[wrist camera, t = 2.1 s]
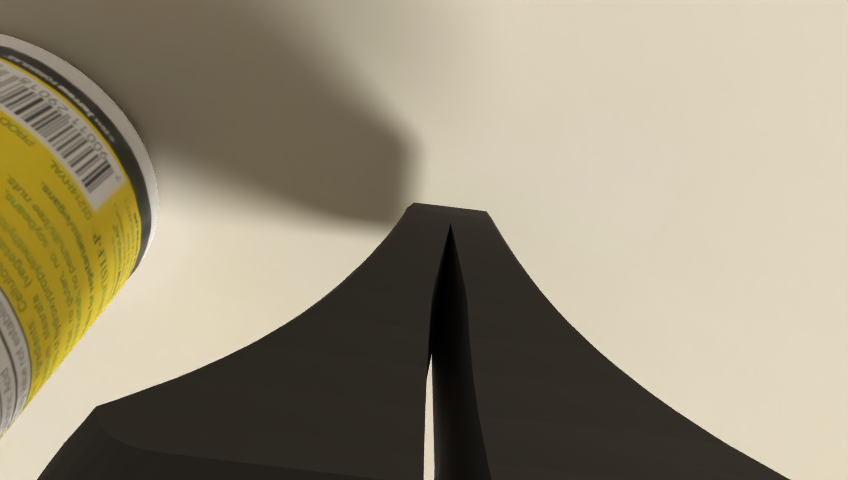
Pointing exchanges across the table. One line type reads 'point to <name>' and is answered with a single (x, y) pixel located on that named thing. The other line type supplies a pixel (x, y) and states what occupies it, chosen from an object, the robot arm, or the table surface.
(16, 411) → the supplement bottle
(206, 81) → the table surface
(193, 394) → the robot arm
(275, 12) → the table surface
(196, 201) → the table surface
